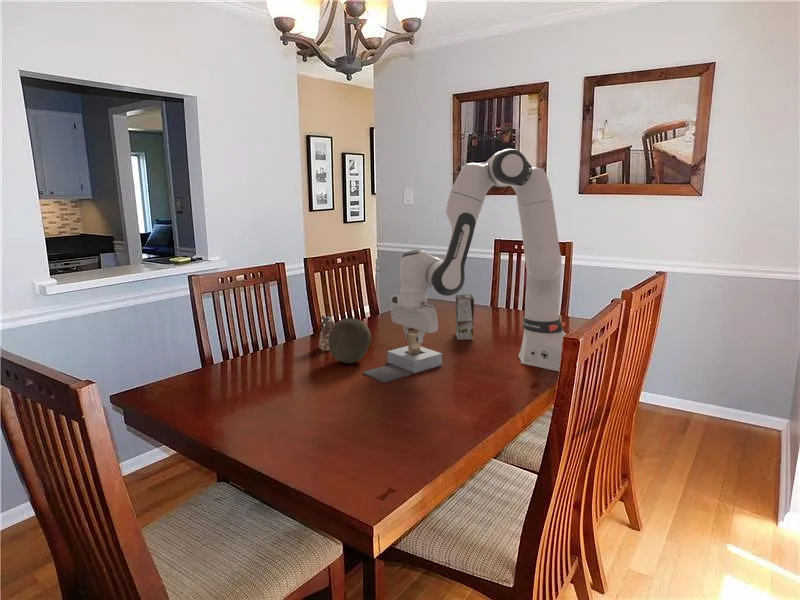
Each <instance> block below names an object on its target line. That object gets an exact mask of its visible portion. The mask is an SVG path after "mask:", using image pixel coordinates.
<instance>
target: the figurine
mask: <svg viewBox="0 0 800 600" xmlns="http://www.w3.org/2000/svg"><path fill="white" fill-rule="evenodd" d="M320 318H321V320H322V321H321V322H320V328H321V330H320V334H319V339H318V340H319V341H318V347H319V349H320V350H321V349H322V351H330V348H329V335H330V332H331V330H332V328H333V327H334V325H335V322H334V319H333V318H332V317H331V316H326V317H325V316H324V315H322V316H321V317H320Z"/></svg>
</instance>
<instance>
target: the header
mask: <svg viewBox="0 0 800 600" xmlns="http://www.w3.org/2000/svg"><path fill="white" fill-rule="evenodd" d="M386 353H387V354H386V355H387V364H389V365H390V364H391V365H393V366H396V367H398V368H401V369H403V370H406V371H408V372H411V373H413V374H417V373H419V372H423V371H427V370H430V369H433V368H436V367H440V366H443V354H442V352H438V351H435V350H433V349H429V348H426V347H425V346H421V345H420V354H419V355H415V356H412V355H410V354H408V345H406V346H402V347H399V348H394V349H392V350H391V349H390V350H387V352H386Z"/></svg>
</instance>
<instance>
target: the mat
mask: <svg viewBox="0 0 800 600" xmlns="http://www.w3.org/2000/svg"><path fill="white" fill-rule="evenodd" d="M412 373H413V372H410V371H408V370H405V369H403V368H400V367H398V366H395V365H393V364H390V363H389V364H387V365H383V366H380V367H376V368H372V369H369V370H365V371H363V372H362V374H363V375H366V376H368V377H370V378H372V379H374V380H376V381H378V382H381V383H383V384H384V383H385V384H386V383H388V382H392V381H395V380H398V379H402V378H405V377H408V376H411V375H412Z"/></svg>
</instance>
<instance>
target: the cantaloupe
mask: <svg viewBox="0 0 800 600" xmlns="http://www.w3.org/2000/svg"><path fill="white" fill-rule="evenodd" d="M371 340H372V334H371V331H370V328H369V327H368V325H367V324H365V322H364V321H363V320H360V319H358V318H346V317H345V318H343V319H339V320H338V321H337V322H336V323H334V327H333V328H332V330H331V332H330V335H329V348H330V350H329V351H330V353H331V355H332V356H333V357H334V359H336V360H337V361H339V362H343V363H345V364H347V365H348V364H349V365H352V364H354V363H357V362H359V361H360V360H361V359H363V357H365V354H367V352H368V349H369V347H370V344H371Z"/></svg>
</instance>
